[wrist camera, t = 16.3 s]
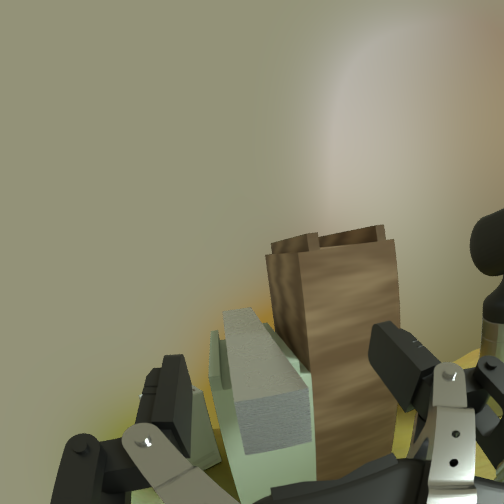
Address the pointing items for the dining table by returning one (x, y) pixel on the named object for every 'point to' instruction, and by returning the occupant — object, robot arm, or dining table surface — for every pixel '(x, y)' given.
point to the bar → (264, 387)
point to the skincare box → (201, 434)
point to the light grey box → (242, 466)
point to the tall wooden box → (339, 337)
